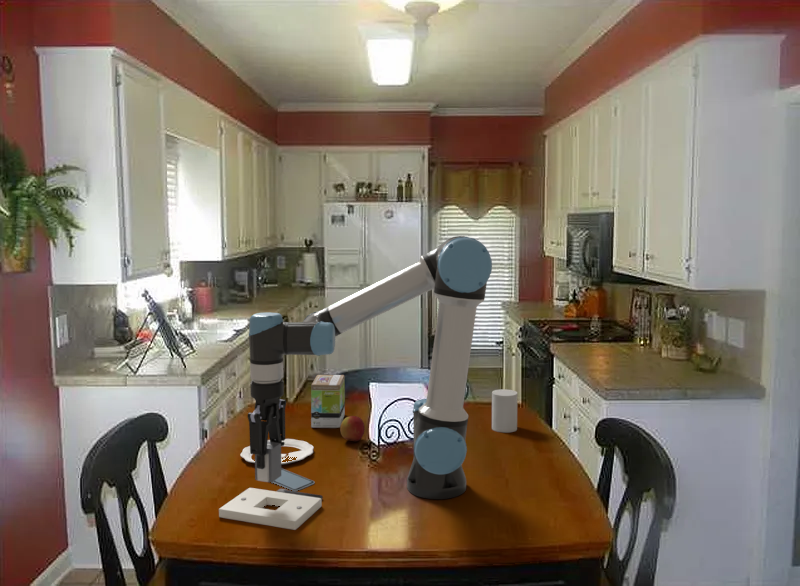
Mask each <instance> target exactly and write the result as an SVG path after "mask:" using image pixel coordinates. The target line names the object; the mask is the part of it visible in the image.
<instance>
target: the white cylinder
mask: <svg viewBox="0 0 800 586" xmlns="http://www.w3.org/2000/svg"><path fill="white" fill-rule="evenodd" d="M491 430H492V431H494V432H497V433H504V434H505V433H513V432H517V430H518V391H516V390H512V389H503V388H502V389H500V388H499V389H494V390H492V392H491Z"/></svg>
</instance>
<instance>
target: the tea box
mask: <svg viewBox="0 0 800 586" xmlns="http://www.w3.org/2000/svg"><path fill="white" fill-rule="evenodd" d="M345 379H346V378H345V375H344V374H317V375H316V376H315V378H314V380H313V382H312V383H311V385H310V386H311V387H310V388H311V389H310V390H311V391H310V392H311V393H310V394H311V395H310V396H311V398H310V405H311V406H310V407H311V409H310V414H311V415H310V418H311V419H310V422H311V423H310V424H311V425H310V427H311V428H317V429H337V428H339V429H340V426H341V423H342V421H343V420H344V419H345V418H344V417H345V411H346V410H345V407H346V403H345V402H346V401H345V399H346V398H345V397H346V396H345V393H346V391H345V388H346V387H345V386H346V384H345Z"/></svg>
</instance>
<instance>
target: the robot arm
mask: <svg viewBox="0 0 800 586" xmlns="http://www.w3.org/2000/svg"><path fill="white" fill-rule="evenodd" d="M492 270H493V261H492V257H491V254H490V252H489V250H488V249H487V247H486V245H484V244H483V243H482V242H481V241H480V240H478V239H475V238H473V237H469V236H465V235H463V236H462V235H457V236H453V237H450V238H448V239H446V240H445V241H444V242H442V243H440V244H439V245H438V246H436V247H435V248H433V249H431V250H430V251H428V252H426V253H424V254H422V255H420V257H419V260H418V262H416V263H413V264H411V265H409V266H408V267H405V268H404V269H401V270H399V271H398V272H395V273H393V274H391V275H389V276H387V277H384V278H383V279H381V280H379V281H377V282H374V283H373V284H370V285H369V286H366V287H364V288H363V289H361V290H359V291H357V292H354V293H353V294H351V295H348V296H347V297H344V298H342V299H341V300H339V301H337V302H335V303H332V304H331V305H328V306H327V307H324V308H322V309H320V310H318V311H314V312H311V313H310V314H308V315H307V316H305V318H304V319H303V321H296V322H295V321H294V322H291V321H290V322H289V321H288V322H287V321H284V319H283V315H282V314H281V313H279V312H269V311H268V312H257V313H253V315H250V317H249V330H248V331H249V332H248V342H249V361H250V362H249V364H250V365H249V369H250V371H249V372H250V380H251V381H250V397H251V398H253V399H254V401H255V403H254V410H253V412H248V413H247V420H248V423H249V424H248V425H249V446H250V453H251V454H252V455H254V456H255V455H256V456H257V480H256V481H258V482H264V483H269V482H268V481H269V454H266V452H267V441H268V440H270V442H276V443H281V447H285V446H284V442H282V441H284V440H285V439H286V405H287V400H286V399H281V397H283V396H284V394H285V393H284V392H285V391H284V386H285V385H284V380H283V378H284V355H285V356H286V355H287V356H289V355H290V356H291V355H292V356H293V355H296V356H298V355H299V356H300V355H301V356H303V355H304V356H318V357H319V356H323V355H324V356H325V355H326V356H329V355H332V354H333V353H334V352H335V347H336V337H338V336H339V335H342V334H343V333H346V332H347V331H349V330H351V329H353V328H355V327H357V326H360V325H362V324H364V323H366V322H368V321H370V320H372V319H374V318H376V317H378V316H381V315H382V314H384V313H386V312H389V311H390V310H392V309H395V308H397V307H398V306H401V305H403V304H404V303H407V302H409V301H411V300H414V299H415V298H417V297H419V296H421V295H423V294H425V293H427V292H429V291H432V290H433V295H434V296H435V297H436V299H437V301H438V308H437V309H438V310H437V317H436V323H435V325H436V326H435V334H434V340H433V346H432V347H433V348H432V355H431V364H430V371H429V378H428V387H427V393H426V398H421V399H418V400H416V401H415V402H414V403H413V410H412V413H413V416H412V417H413V420H412V421H413V460H412V461H411V462H412V463H411V465H410V469H409V472H408V474H407V479H406V489H407V490H408V492H409V493H411V494H412V495H414V496H416V497H419V498H423V499H429V500H446V499H452V498H456V497H458V496H461V495H462V494H464V493H465V491H467V478H466V474H465V472H464V471H465V470H464V469H463V463H464V462H465V459H466V456H467V452H468V447H467V443H466V437H467V429H468V421H469V414H468V413H467V411H466V410H465V408H464V402H465V397H466V386H467V381H468V372H469V366H470V358H471V352H472V343H473V337H474V329H475V323H476V322H475V321H476V315H477V307H478V306H479V305H480V304H481V303H483V302H484V301H485V300H486V299H485V297H486V290H487V283H488V281H489V279H490V277H491V274H492Z"/></svg>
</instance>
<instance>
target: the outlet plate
mask: <svg viewBox="0 0 800 586" xmlns="http://www.w3.org/2000/svg"><path fill="white" fill-rule="evenodd" d="M322 501H323V500H322V499H321V498H316V497H310V496H303V495H296V494H289V493H283V492H277V490H276V491H275V490H268V489H261V488H254V487H249V488H246V489H245V490H244V491H242V492H241V493H239V495H237V496H235V497H234V498H233V499H231V500H230V501H228V502H227V503H225V504H224V505H223V506H221V507H220V508H218V517H219V518H223V519H228V520H234V521H240V522H246V523H250V524H251V523H252V524H257V525H264V526H270V527H276V528H282V529H287V530H294V531H296V530H297V529H298V528H299V527H301V526H302V525H303V524H304V523H305V522H306V521H307V520H308V519H309V518H310V517H312V516H313V515H314V514H315V513H316V512H317V511H318V510H320V508H321V507H322V506H323V505H322ZM267 505H268V506H272V505H275V506H274V507H278V506H280V507H278V508H277V509H275V510H274V509H269V508H265V507H266V506H267ZM264 506H265V507H264Z"/></svg>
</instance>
